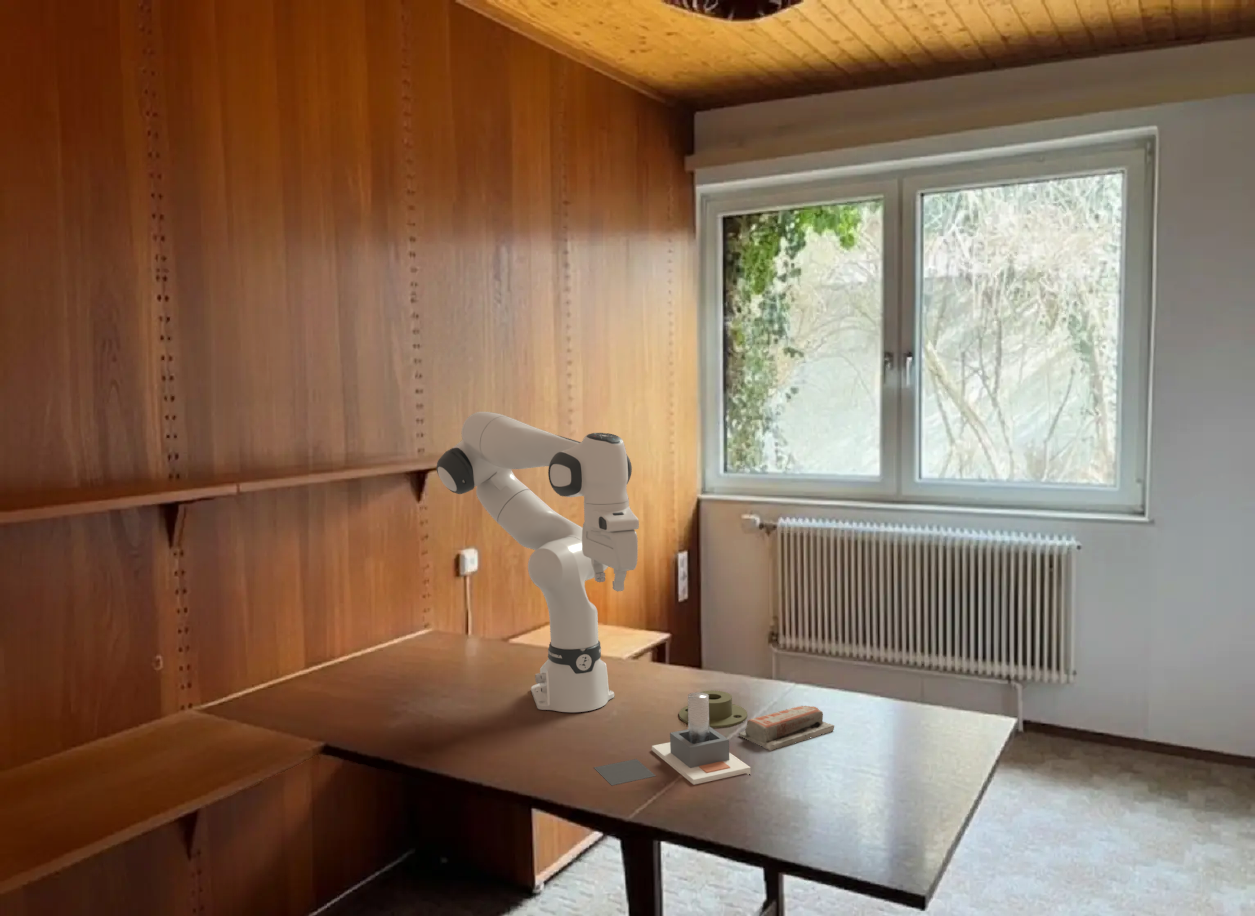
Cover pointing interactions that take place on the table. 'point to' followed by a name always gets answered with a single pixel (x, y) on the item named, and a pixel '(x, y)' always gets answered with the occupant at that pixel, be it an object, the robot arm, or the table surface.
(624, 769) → the pad
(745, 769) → the mounting plate
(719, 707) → the flange
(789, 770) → the table surface
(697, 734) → the barrel peg
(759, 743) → the packaged product
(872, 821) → the table surface
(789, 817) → the table surface
